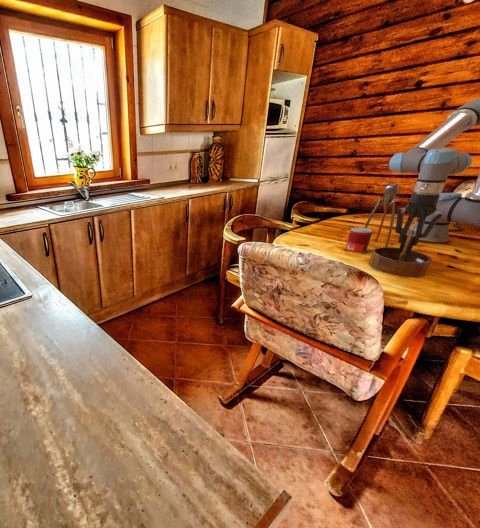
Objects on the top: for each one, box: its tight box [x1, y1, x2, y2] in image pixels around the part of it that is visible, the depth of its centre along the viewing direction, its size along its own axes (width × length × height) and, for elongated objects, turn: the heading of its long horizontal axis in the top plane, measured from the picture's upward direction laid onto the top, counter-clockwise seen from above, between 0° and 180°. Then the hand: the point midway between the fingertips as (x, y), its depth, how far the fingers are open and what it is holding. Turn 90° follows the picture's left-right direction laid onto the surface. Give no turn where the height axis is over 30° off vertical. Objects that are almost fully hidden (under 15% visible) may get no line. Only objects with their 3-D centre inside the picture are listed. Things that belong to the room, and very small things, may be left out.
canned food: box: [345, 226, 373, 254], centre depth 131 cm, size 8×8×11 cm
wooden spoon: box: [398, 230, 415, 261], centre depth 113 cm, size 4×4×15 cm
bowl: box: [368, 246, 433, 278], centre depth 113 cm, size 18×18×6 cm
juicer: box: [363, 182, 399, 247], centre depth 135 cm, size 10×11×30 cm
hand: (404, 251), depth 113 cm, fingers closed on wooden spoon, 2 cm apart
